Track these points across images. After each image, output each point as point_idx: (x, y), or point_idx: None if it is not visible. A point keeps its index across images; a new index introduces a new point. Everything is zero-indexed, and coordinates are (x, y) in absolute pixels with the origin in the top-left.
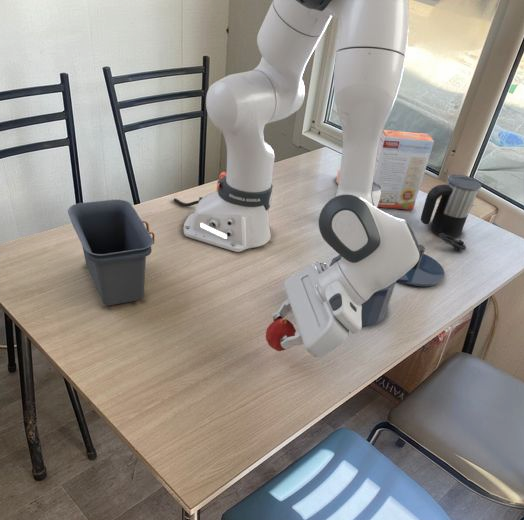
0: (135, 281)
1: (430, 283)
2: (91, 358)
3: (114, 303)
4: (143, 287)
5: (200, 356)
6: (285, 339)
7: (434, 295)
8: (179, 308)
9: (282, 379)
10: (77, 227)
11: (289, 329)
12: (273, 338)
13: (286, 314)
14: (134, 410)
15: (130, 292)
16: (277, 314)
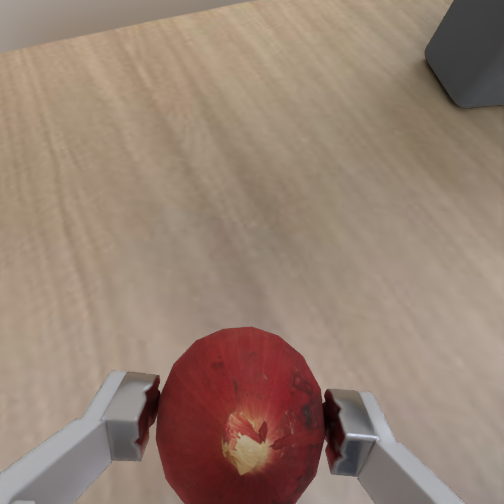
0: (497, 34)
1: None
2: (283, 25)
3: (431, 60)
4: (487, 76)
5: (267, 176)
6: (108, 405)
7: None
8: (441, 169)
9: None
10: None
11: (187, 470)
12: (193, 346)
13: (376, 500)
14: (141, 52)
15: (464, 61)
16: (363, 422)
